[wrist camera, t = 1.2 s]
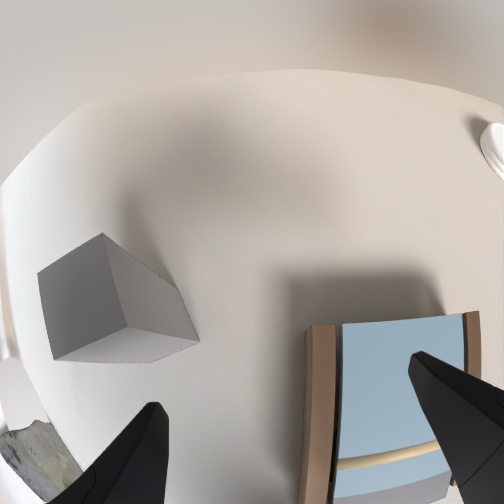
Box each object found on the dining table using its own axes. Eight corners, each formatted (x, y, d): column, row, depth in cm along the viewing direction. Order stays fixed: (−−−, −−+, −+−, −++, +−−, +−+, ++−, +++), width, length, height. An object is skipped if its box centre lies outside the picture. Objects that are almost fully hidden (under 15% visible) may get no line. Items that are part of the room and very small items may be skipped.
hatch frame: (297, 504, 17) (301, 533, 12) (305, 330, 23) (312, 324, 18) (437, 478, 16) (462, 494, 11) (448, 319, 21) (478, 310, 17)
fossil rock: (139, 527, 16) (130, 536, 14) (77, 546, 14) (68, 552, 12) (41, 401, 22) (28, 402, 19) (1, 443, 19) (-10, 445, 17)
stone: (200, 341, 23) (128, 326, 11) (150, 362, 22) (54, 359, 11) (178, 289, 25) (102, 232, 13) (132, 312, 24) (37, 273, 13)
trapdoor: (323, 509, 15) (329, 527, 12) (333, 327, 20) (343, 323, 17) (430, 486, 14) (446, 498, 11) (442, 318, 20) (463, 312, 17)
